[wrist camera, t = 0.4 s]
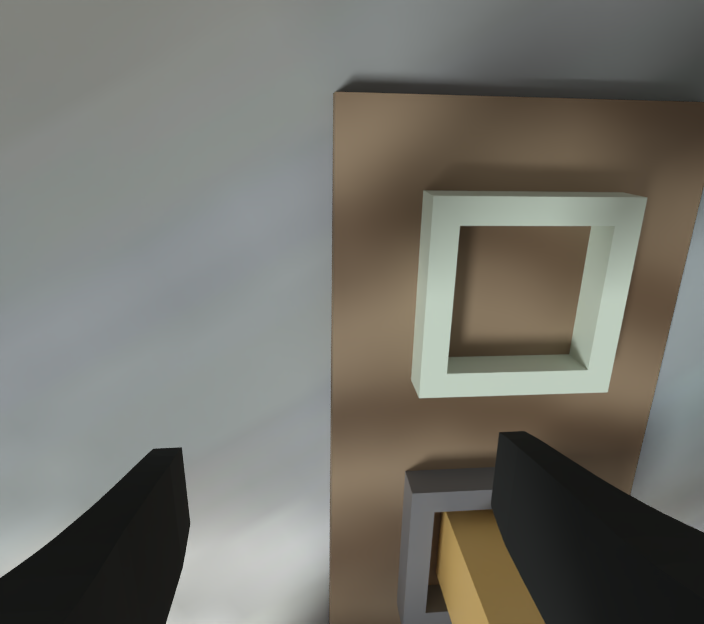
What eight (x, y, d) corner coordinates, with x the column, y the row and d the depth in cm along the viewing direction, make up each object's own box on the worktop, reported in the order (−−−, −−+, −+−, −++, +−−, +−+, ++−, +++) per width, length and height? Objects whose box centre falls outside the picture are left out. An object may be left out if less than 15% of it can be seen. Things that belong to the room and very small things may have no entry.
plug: (516, 566, 26) (605, 744, 18) (435, 571, 25) (493, 755, 18) (527, 498, 24) (627, 660, 17) (442, 502, 24) (507, 671, 16)
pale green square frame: (588, 375, 22) (607, 392, 21) (411, 380, 22) (419, 398, 20) (622, 192, 20) (647, 197, 18) (423, 190, 19) (433, 195, 18)
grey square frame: (547, 592, 26) (561, 619, 25) (396, 603, 26) (402, 631, 24) (571, 463, 24) (588, 484, 22) (405, 470, 23) (412, 493, 22)
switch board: (586, 618, 29) (596, 635, 28) (328, 638, 27) (330, 656, 26) (703, 103, 20) (723, 102, 19) (333, 93, 19) (335, 91, 18)
